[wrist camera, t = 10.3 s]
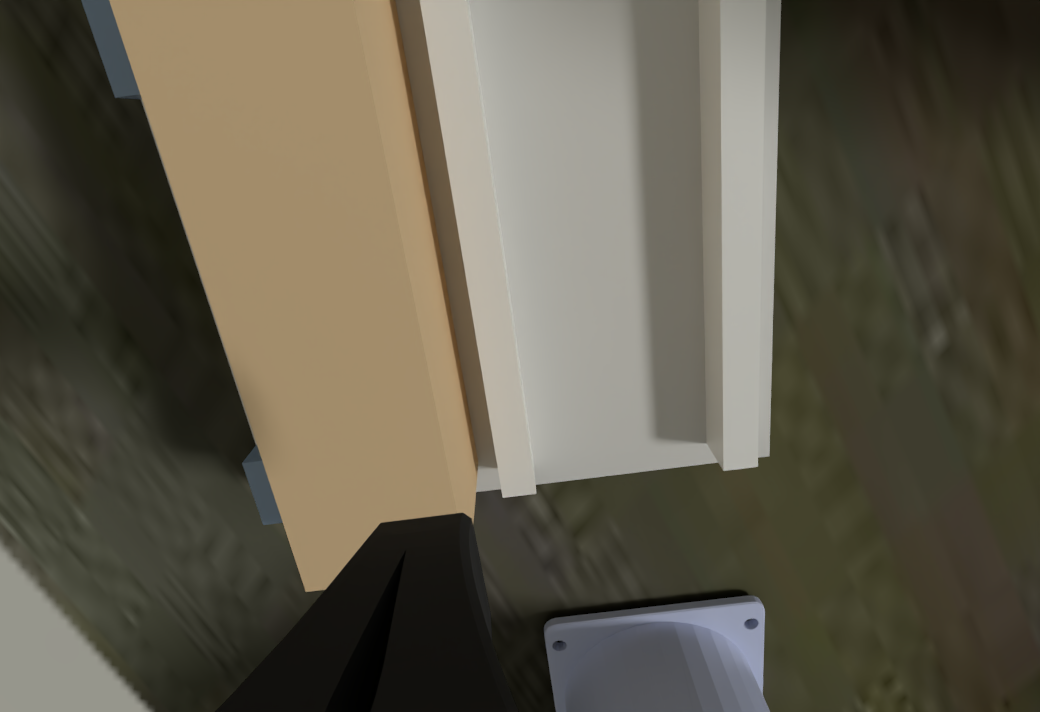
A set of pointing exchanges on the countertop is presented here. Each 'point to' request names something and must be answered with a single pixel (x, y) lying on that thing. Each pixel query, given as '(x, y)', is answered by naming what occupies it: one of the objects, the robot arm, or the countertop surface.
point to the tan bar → (314, 254)
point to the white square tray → (591, 226)
